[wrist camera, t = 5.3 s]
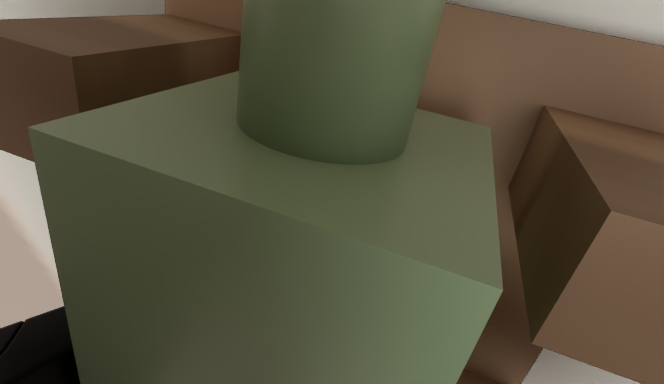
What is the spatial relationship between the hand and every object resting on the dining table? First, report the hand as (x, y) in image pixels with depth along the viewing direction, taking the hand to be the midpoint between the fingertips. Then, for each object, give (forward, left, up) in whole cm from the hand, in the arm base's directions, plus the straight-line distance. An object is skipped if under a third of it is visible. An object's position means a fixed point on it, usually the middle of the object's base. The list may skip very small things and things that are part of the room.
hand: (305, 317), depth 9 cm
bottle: (+2, 0, -1) cm, 3 cm away
